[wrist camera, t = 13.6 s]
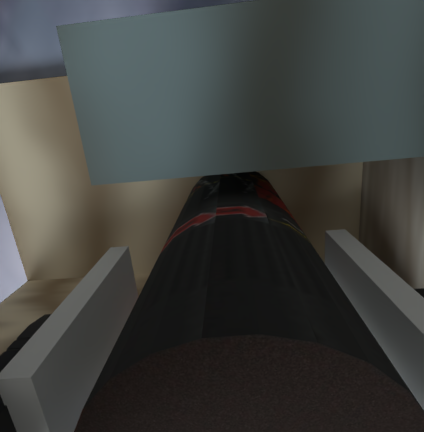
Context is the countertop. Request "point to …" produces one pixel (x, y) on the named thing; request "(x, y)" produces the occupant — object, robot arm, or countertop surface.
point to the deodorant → (245, 332)
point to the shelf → (112, 208)
